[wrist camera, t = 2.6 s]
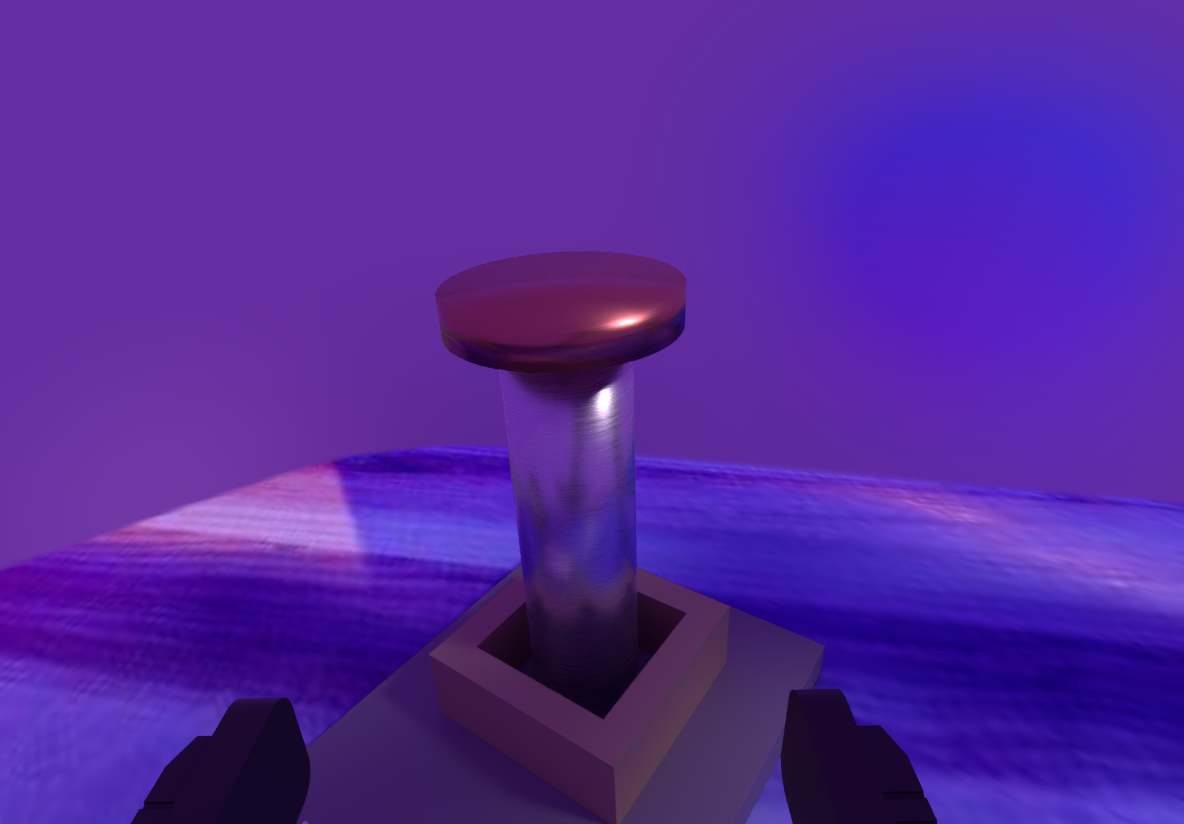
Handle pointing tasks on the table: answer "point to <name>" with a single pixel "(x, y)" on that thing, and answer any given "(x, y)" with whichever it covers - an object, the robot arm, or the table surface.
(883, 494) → the table surface
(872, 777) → the robot arm
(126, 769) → the table surface
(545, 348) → the mushroom shaped post
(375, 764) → the board
